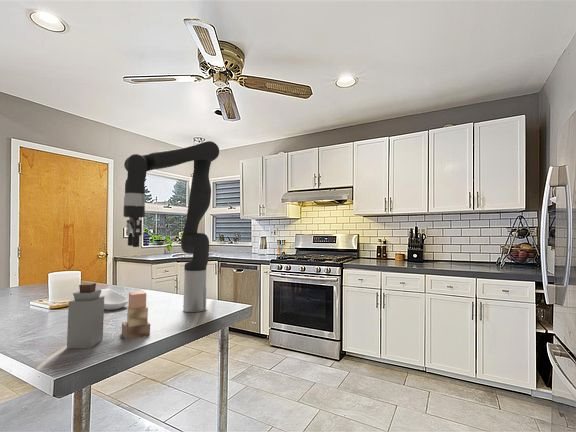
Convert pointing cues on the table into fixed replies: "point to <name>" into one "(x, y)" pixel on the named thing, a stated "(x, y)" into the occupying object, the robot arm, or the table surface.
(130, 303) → the block
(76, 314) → the perfume bottle
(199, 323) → the table surface
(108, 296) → the spoon rest
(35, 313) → the table surface
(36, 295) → the table surface
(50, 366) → the table surface
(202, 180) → the robot arm
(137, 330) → the tower base
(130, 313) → the tower cube
